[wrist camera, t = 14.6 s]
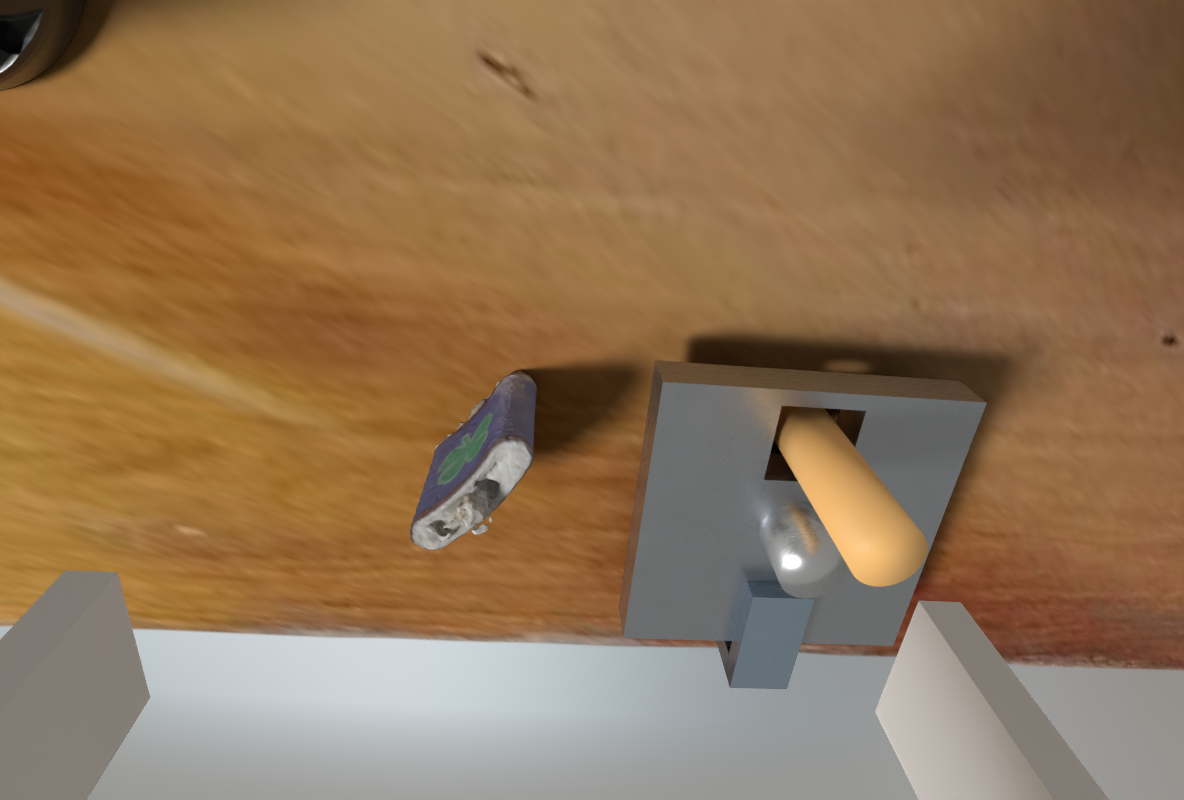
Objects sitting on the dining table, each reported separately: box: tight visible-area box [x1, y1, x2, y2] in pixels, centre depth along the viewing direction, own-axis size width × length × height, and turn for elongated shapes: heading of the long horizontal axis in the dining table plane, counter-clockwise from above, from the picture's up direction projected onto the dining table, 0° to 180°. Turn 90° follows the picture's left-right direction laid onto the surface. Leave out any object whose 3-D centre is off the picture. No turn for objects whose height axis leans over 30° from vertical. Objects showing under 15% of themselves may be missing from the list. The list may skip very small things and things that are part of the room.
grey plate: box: [619, 360, 987, 689], centre depth 45 cm, size 22×19×10 cm
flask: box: [410, 371, 537, 550], centre depth 41 cm, size 9×3×11 cm, turn 136°
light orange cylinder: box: [774, 406, 928, 587], centre depth 39 cm, size 4×4×16 cm
